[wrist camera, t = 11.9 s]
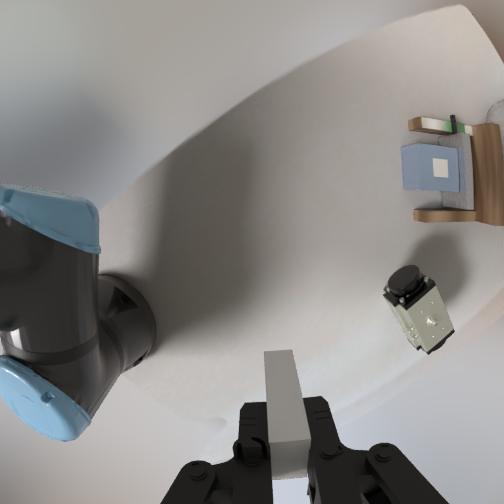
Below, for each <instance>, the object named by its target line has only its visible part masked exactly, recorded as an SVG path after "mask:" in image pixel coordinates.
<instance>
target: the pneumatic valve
mask: <svg viewBox="0 0 504 504" xmlns="http://www.w3.org/2000/svg"><path fill="white" fill-rule="evenodd" d="M383 291H384V293H385V294H383V296H384V298H385V299H386V301H387V303H388V305H389V306H390V308H391V310H392V312H393V313H394V315H395V317H396V319H397V320H398V322H399V324H400V326H401V328H402V330H403V331H404V333H405V335H406V337H407V339H408V341H409V342H410V343H411V344H412V345H413V346H414V347H415V348H416V349H417V350H419V349H422V350H423V351H425V352H426V353H427V354H428V355H429V354H430V353H431V352H432V351H435V350H437V349H439V348H440V347H441V346H442V345H443V344H444V343H445V341H446V339H447V338H449V337H450V336H451V335H452V334H453V333H454V332H455V331H454V328H453V326H452V323H451V320H450V318H449V315H448V313H447V310H446V308H445V305H444V303H443V300H442V298H441V296H440V293H439V291H438V289H437V286H436V284H435V282H434V281H433V280H431V279H430V278H428V277H426V276H424V275H423V274H421V272H420V270H419V268H418V267H417V266H415V265H408V266H405V267H402V268H400V269H399V270H397V271H396V272H395V273H394V274H393V275H392V276H391V277H390V278H389V280H388V282H387V287H384V289H383Z"/></svg>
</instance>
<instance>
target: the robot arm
mask: <svg viewBox="0 0 504 504" xmlns="http://www.w3.org/2000/svg"><path fill="white" fill-rule="evenodd" d="M100 253H101V247H100V246H99V213H98V210H97V208H96V207H95V205H94V204H93V203H92V202H90V201H89V200H87V199H84V198H81V197H78V196H74V195H70V194H66V193H61V192H57V191H51V190H46V189H41V188H35V187H29V186H21V185H10V184H4V183H0V337H1V342H2V346H3V355H2V356H1V355H0V396H1V397H2V399H3V400H4V401H5V403H6V404H7V405H8V406H9V408H10V409H11V410H12V411H13V412H14V413H15V414H16V415H17V416H18V417H19V418H20V419H21V420H22V421H24V422H25V423H26V424H27V425H29V426H30V427H32V428H33V429H34V430H36V431H37V432H39V433H41V434H43V435H45V436H47V437H49V438H51V439H54V440H57V441H64V442H66V441H71V440H75V439H77V438H78V437H79V436H80V435H81V434H82V432H83V431H84V430H85V429H86V428H87V426H89V425H90V424H91V419H92V418H93V416H94V415H95V413H96V411H97V410H98V408H99V407H100V405H101V403H102V402H103V400H104V399H105V397H106V396H107V394H108V392H109V391H110V389H111V388H112V386H113V385H114V383H115V382H116V380H117V378H118V377H119V376H120V374H122V373H123V372H125V371H127V370H129V369H131V368H133V367H134V366H136V365H138V364H139V363H141V362H142V361H143V360H144V359H145V358H146V356H147V355H148V353H149V352H150V350H151V348H152V347H153V344H154V341H155V337H156V325H155V320H154V317H153V314H152V311H151V309H150V307H149V305H148V304H147V302H146V300H145V299H144V298H143V296H142V295H141V294H140V293H139V292H138V291H137V290H136V289H135V288H134V287H133V286H131V285H130V284H128V283H127V282H125V281H123V280H121V279H119V278H117V277H113V276H109V275H98V271H99V254H100ZM264 361H265V380H266V398H267V402H251V403H245V404H244V405H243V406H242V408H241V409H240V420H239V435H238V440H236V441H235V442H234V445H233V453H234V457H233V458H232V459H230V460H229V461H227V462H224V463H220V464H216V465H211V464H210V463H208V462H205V461H198V460H197V461H192V462H189V463H187V464H186V465H185V466H184V467H183V468H182V469H181V470H180V472H179V474H178V475H177V477H176V479H175V480H174V482H173V484H172V485H171V487H170V489H169V491H168V492H167V494H166V496H165V497H164V499H163V500H162V502H161V503H160V504H273V489H272V480H280V479H291V478H302V477H307V473H308V478H309V485H308V491H307V495H309V496H310V502H311V504H449V503H448V502H447V501H446V500H445V499H444V498H443V497H442V496H441V495H440V494H439V493H438V491H437V490H436V489H435V488H434V487H433V486H432V485H431V484H430V483H429V482H428V481H427V479H426V478H425V477H424V476H423V475H422V474H421V473H420V472H419V471H418V470H417V469H416V467H414V465H413V464H412V463H411V462H410V461H409V460H408V459H407V457H406V456H405V455H404V454H403V453H402V452H401V451H400V450H399V449H398V448H397V447H396V446H394V445H393V444H390V443H379V444H376V445H374V446H372V447H371V448H370V449H369V451H367V450H353V449H350V448H347V447H346V446H344V445H343V444H342V443H341V442H340V439H339V437H338V433H337V430H336V427H335V424H334V420H333V418H332V414H331V411H330V408H329V405H328V402H327V401H326V400H325V399H324V398H323V397H322V396H317V397H308V398H302V393H301V388H300V384H299V379H298V374H297V370H296V365H295V361H294V356H293V352H292V350H279V351H264Z"/></svg>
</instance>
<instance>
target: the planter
mask: <svg viewBox="0 0 504 504" xmlns="http://www.w3.org/2000/svg"><path fill="white" fill-rule="evenodd" d="M490 122H492V123H495V124H499V125H500V133H501V141H502V150H503V161H504V99H503V100H501V101H499V102H497V103H495V104H494V105H493V106H492V107H491V108H490V110H489V111H488V114H487V120H486V123H490Z"/></svg>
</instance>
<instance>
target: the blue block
mask: <svg viewBox="0 0 504 504" xmlns="http://www.w3.org/2000/svg"><path fill="white" fill-rule="evenodd" d="M401 153H402V171H403V189H417V190H437V191H453V192H459V168H458V153H457V149H456V148H450V147H444V146H437V145H429V144H422V143H416V144H412V145H408V146H404V147H401Z"/></svg>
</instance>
